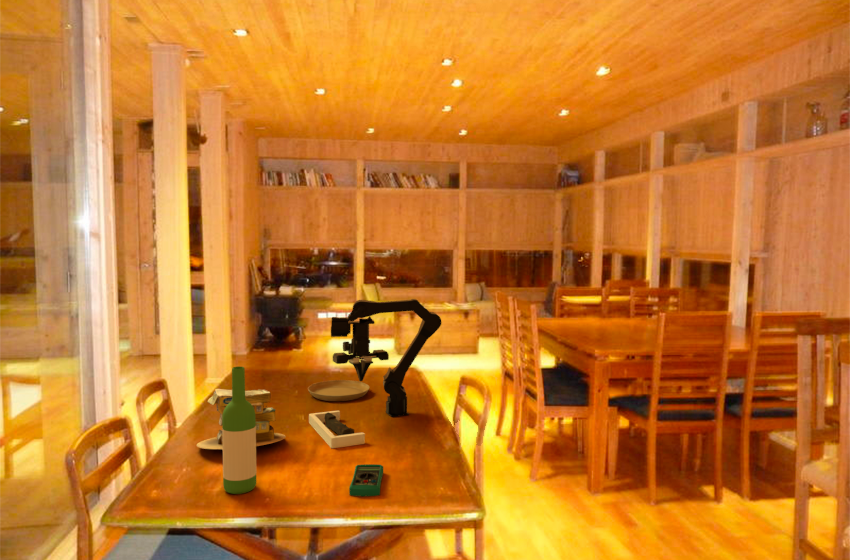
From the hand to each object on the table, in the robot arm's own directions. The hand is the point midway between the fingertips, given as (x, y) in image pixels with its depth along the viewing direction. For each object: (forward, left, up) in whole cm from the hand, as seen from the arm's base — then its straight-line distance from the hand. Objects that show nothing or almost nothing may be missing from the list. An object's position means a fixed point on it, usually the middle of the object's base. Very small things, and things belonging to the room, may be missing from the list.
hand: (360, 381), depth 207 cm
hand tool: (+13, +15, -12) cm, 23 cm away
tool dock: (+13, +15, -12) cm, 23 cm away
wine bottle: (+47, +47, -12) cm, 68 cm away
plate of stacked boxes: (+42, +16, -12) cm, 47 cm away
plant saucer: (-1, -30, -12) cm, 33 cm away
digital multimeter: (+18, +57, -13) cm, 61 cm away
